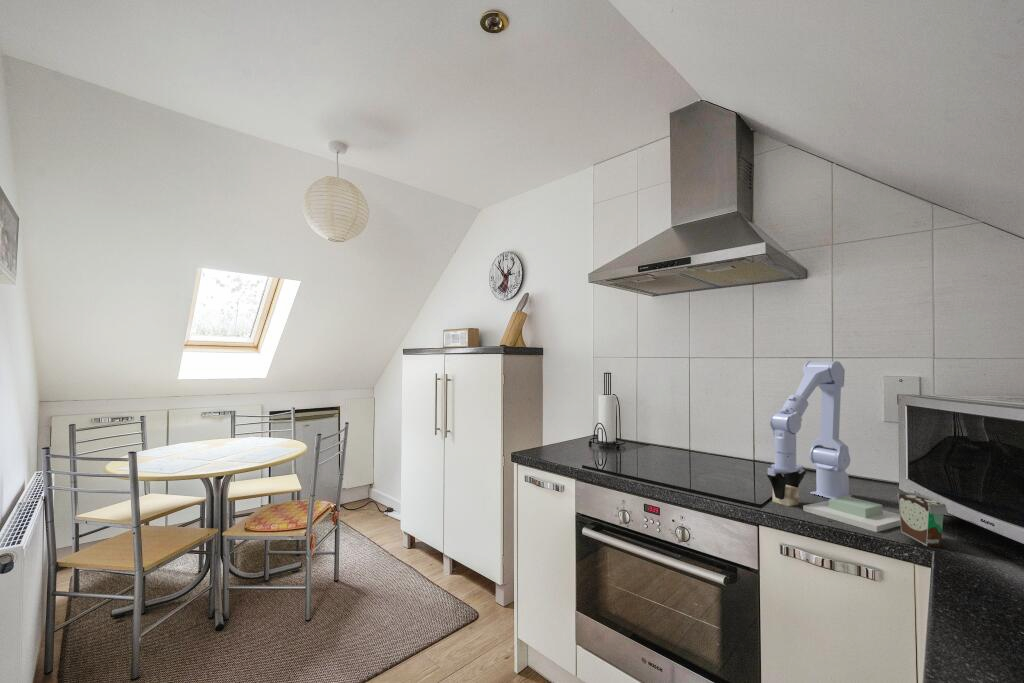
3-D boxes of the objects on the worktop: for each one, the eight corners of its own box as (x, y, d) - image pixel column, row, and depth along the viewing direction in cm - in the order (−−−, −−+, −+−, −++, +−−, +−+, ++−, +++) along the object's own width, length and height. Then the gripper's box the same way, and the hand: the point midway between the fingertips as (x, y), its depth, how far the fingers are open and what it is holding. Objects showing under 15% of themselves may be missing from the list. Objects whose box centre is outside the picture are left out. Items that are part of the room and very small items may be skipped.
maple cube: (782, 500, 141) (782, 483, 141) (798, 504, 136) (798, 487, 137) (772, 501, 138) (772, 485, 139) (788, 506, 134) (788, 489, 134)
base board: (838, 503, 138) (837, 490, 138) (911, 522, 122) (910, 507, 122) (803, 510, 130) (803, 496, 130) (876, 532, 114) (876, 516, 114)
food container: (962, 551, 103) (961, 507, 103) (931, 548, 104) (930, 504, 104) (925, 532, 115) (924, 492, 115) (897, 529, 116) (896, 490, 117)
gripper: (786, 448, 145) (786, 491, 144) (758, 451, 138) (758, 496, 138) (809, 452, 139) (809, 497, 138) (780, 456, 132) (780, 502, 131)
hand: (785, 497), depth 137 cm, fingers open, 5 cm apart
